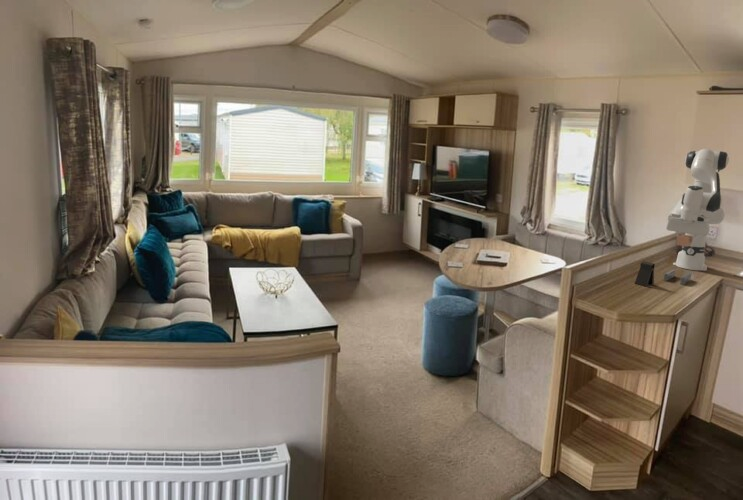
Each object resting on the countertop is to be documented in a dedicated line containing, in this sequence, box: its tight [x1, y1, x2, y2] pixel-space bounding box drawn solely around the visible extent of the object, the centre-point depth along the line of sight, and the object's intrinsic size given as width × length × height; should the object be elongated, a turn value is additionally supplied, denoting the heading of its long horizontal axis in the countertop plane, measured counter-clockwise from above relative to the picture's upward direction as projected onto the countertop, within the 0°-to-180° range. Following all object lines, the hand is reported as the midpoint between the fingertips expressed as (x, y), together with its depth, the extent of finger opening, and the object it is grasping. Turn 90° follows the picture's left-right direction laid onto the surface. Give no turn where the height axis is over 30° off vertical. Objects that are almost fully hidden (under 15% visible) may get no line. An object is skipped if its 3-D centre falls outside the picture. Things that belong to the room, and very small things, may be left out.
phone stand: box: [634, 260, 655, 287], centre depth 299 cm, size 9×6×12 cm, turn 127°
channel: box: [663, 268, 693, 285], centre depth 313 cm, size 16×10×4 cm, turn 138°
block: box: [676, 233, 693, 247], centre depth 304 cm, size 8×5×5 cm, turn 135°
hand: (685, 241), depth 305 cm, fingers closed on block, 5 cm apart
